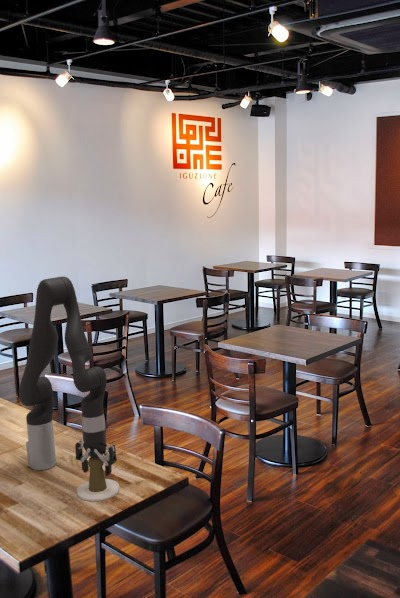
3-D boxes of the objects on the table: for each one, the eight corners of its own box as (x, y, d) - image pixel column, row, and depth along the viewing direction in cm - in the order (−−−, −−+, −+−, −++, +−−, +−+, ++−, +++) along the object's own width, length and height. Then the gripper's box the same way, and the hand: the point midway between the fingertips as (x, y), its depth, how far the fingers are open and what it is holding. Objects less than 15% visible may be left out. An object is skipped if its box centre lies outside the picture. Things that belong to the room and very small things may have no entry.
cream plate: (69, 498, 202) (68, 495, 202) (90, 479, 215) (90, 476, 215) (106, 504, 197) (106, 501, 197) (126, 484, 210) (126, 481, 210)
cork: (103, 492, 202) (101, 461, 201) (85, 491, 204) (83, 460, 202) (109, 484, 208) (107, 453, 206) (92, 483, 209) (90, 452, 208)
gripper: (68, 429, 201) (72, 475, 204) (107, 433, 196) (110, 481, 199) (81, 421, 208) (84, 466, 211) (118, 425, 203) (121, 471, 206)
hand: (97, 473), depth 205 cm, fingers open, 8 cm apart
